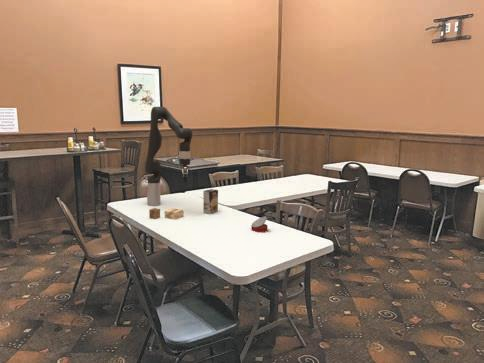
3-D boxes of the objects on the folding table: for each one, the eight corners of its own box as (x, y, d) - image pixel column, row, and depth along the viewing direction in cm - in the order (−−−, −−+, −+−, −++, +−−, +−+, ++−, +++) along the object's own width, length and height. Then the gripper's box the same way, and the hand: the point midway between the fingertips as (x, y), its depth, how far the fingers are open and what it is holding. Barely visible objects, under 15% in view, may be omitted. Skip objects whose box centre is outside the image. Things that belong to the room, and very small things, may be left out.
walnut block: (149, 218, 274) (149, 209, 272) (154, 216, 278) (154, 208, 277) (155, 219, 271) (155, 210, 270) (160, 217, 276) (160, 209, 274)
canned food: (264, 239, 247) (264, 227, 240) (249, 235, 250) (248, 224, 244) (270, 226, 255) (270, 215, 249) (255, 223, 258) (254, 211, 252)
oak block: (164, 218, 275) (164, 211, 274) (172, 215, 283) (172, 208, 282) (175, 220, 271) (175, 212, 270) (183, 216, 279) (183, 209, 278)
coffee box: (210, 214, 285) (210, 191, 283) (203, 213, 289) (203, 190, 286) (218, 211, 293) (218, 189, 290) (211, 210, 296) (211, 188, 294)
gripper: (178, 156, 285) (179, 179, 288) (179, 159, 271) (179, 182, 274) (189, 156, 286) (189, 179, 289) (190, 158, 272) (190, 182, 275)
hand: (184, 180), depth 281 cm, fingers open, 8 cm apart
